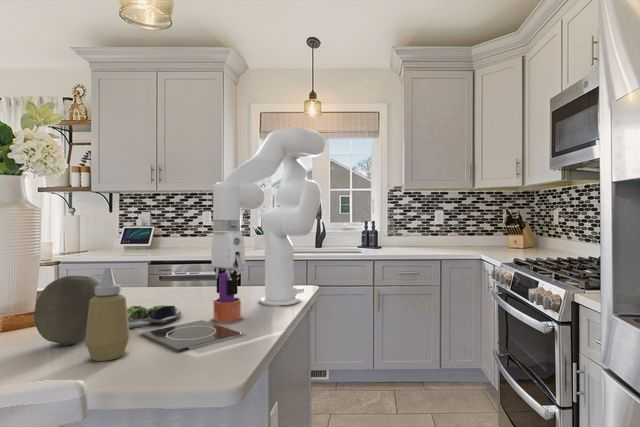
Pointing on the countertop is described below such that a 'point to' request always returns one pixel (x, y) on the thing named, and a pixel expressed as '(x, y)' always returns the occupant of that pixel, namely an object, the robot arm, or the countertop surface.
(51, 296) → the cantaloupe
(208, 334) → the slate board
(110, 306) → the squeeze bottle
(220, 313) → the pen pot
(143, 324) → the salad plate
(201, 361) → the countertop surface
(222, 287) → the cylinder
